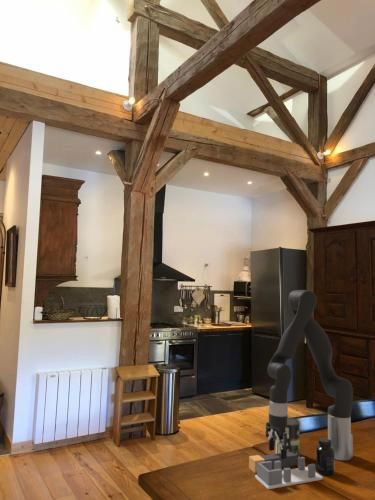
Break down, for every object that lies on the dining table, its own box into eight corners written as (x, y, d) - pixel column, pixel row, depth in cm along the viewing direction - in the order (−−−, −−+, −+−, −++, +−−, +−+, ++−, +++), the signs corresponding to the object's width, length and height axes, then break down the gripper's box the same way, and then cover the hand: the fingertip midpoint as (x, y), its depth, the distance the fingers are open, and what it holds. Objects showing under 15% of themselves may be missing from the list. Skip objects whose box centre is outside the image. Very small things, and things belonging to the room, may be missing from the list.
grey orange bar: (291, 461, 160) (291, 450, 161) (298, 465, 156) (298, 454, 157) (248, 467, 153) (249, 456, 154) (254, 472, 149) (254, 461, 149)
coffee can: (298, 451, 170) (298, 418, 172) (300, 461, 160) (300, 426, 162) (274, 448, 172) (275, 415, 174) (275, 458, 162) (275, 423, 164)
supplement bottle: (334, 469, 153) (334, 438, 154) (335, 477, 147) (334, 444, 148) (316, 466, 156) (316, 435, 157) (316, 474, 149) (315, 442, 150)
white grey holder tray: (307, 468, 154) (307, 454, 154) (322, 479, 145) (322, 464, 146) (254, 477, 145) (255, 462, 146) (268, 489, 137) (268, 473, 137)
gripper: (296, 417, 152) (295, 460, 150) (276, 406, 165) (275, 446, 164) (280, 419, 149) (279, 463, 148) (260, 408, 163) (259, 448, 161)
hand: (277, 454), depth 156 cm, fingers open, 8 cm apart
